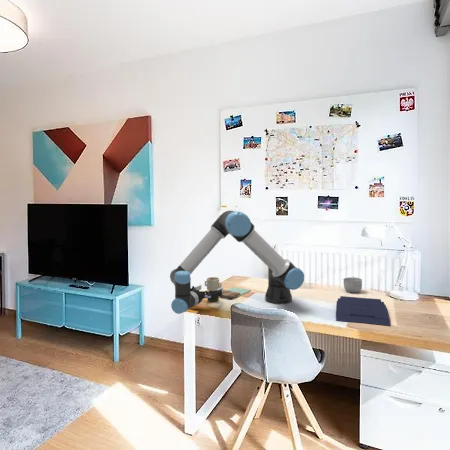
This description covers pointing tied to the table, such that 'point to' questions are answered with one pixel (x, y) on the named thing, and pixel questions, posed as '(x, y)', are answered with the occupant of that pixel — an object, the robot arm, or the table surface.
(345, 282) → the teacup
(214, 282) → the character mug
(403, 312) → the table surface
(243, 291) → the mat
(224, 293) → the walnut slab
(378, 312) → the folded navy cloth
